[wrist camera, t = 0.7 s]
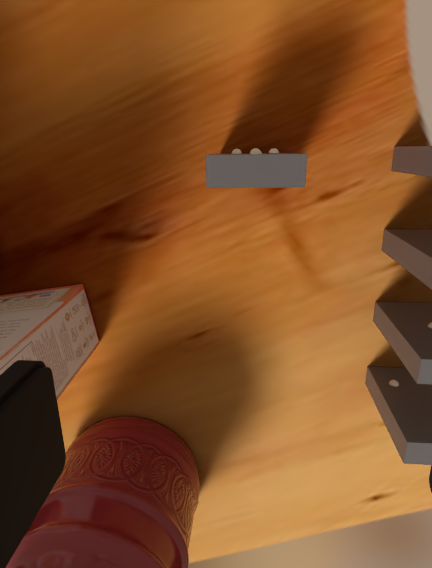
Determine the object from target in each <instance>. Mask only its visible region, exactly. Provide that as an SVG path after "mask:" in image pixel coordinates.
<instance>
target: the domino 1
mask: <svg viewBox="0 0 432 568" xmlns="http://www.w3.org/2000/svg"><path fill="white" fill-rule="evenodd" d="M306 164H307V154H303V153H279V151H278V150H277V149H276V148H272V149H271V150H270V151H269V153H262V152H261V151H260V150H259V149H257V148H254V149H252V150H251V151H250V153H242V152H241V150H240V149H234V150H233V151H232V153H221V154H211V155H206V183H207V188H258V187H305V182H306Z"/></svg>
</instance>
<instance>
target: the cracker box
mask: <svg viewBox="0 0 432 568" xmlns="http://www.w3.org/2000/svg"><path fill="white" fill-rule="evenodd" d="M98 344H99V338H98V335H97V331H96V327H95V324H94V320H93V316H92V313H91V309H90V306H89V302H88V299H87V295H86V292H85V288H84V285H83V284H77V285H70V286H63V287H56V288H48V289H41V290H34V291H27V292H21V293H13V294H6V295H0V375H1V374H2V373H3V372H4V371H5V370H6V369H8V368H9V367H10V366H11V365H12V364H13V363H14V362H16V361H17V360H32V361H42V362H44V364H45V365H46V367H49V368H50V369H51V370H52V374H53V380H54V386H55V392H56V398H57V399H58V398H59V397H60V395H61V394H62V393H63V391H64V390H65V389H66V387H67V386H68V385H69V383H70V382H71V381H72V379H73V378H74V377H75V375H76V374H77V373H78V371H79V370H80V369H81V367H82V366H83V365H84V363H85V362H86V360H87V359H88V358H89V357H90V355H91V354H92V353H93V351H94V350H95V349H96V347H97V346H98Z"/></svg>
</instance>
